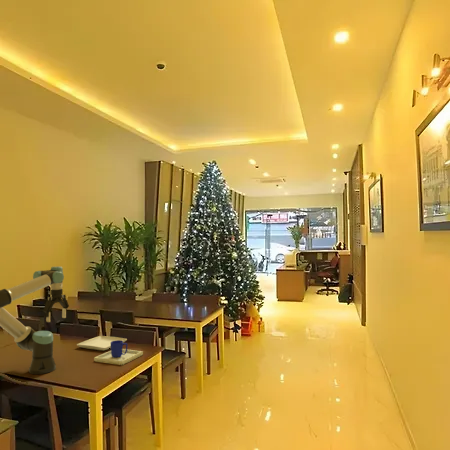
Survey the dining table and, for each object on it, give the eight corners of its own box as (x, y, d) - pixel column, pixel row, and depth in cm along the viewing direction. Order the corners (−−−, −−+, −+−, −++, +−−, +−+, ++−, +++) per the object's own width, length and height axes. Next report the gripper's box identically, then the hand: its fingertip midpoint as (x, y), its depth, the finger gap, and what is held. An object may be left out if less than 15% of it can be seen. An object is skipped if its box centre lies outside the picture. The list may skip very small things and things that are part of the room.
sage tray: (122, 365, 241) (122, 361, 241) (94, 361, 249) (94, 357, 249) (142, 354, 262) (142, 351, 262) (116, 351, 271) (116, 348, 271)
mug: (124, 359, 251) (124, 344, 251) (108, 358, 253) (108, 343, 254) (130, 355, 259) (130, 340, 259) (114, 354, 261) (114, 340, 262)
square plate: (75, 349, 279) (75, 343, 279) (100, 339, 305) (100, 335, 305) (104, 352, 269) (104, 347, 269) (127, 343, 295) (127, 338, 295)
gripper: (45, 291, 244) (45, 324, 243) (74, 286, 267) (74, 316, 266) (37, 291, 247) (37, 323, 246) (66, 286, 270) (66, 315, 269)
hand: (56, 319), depth 256 cm, fingers open, 13 cm apart
